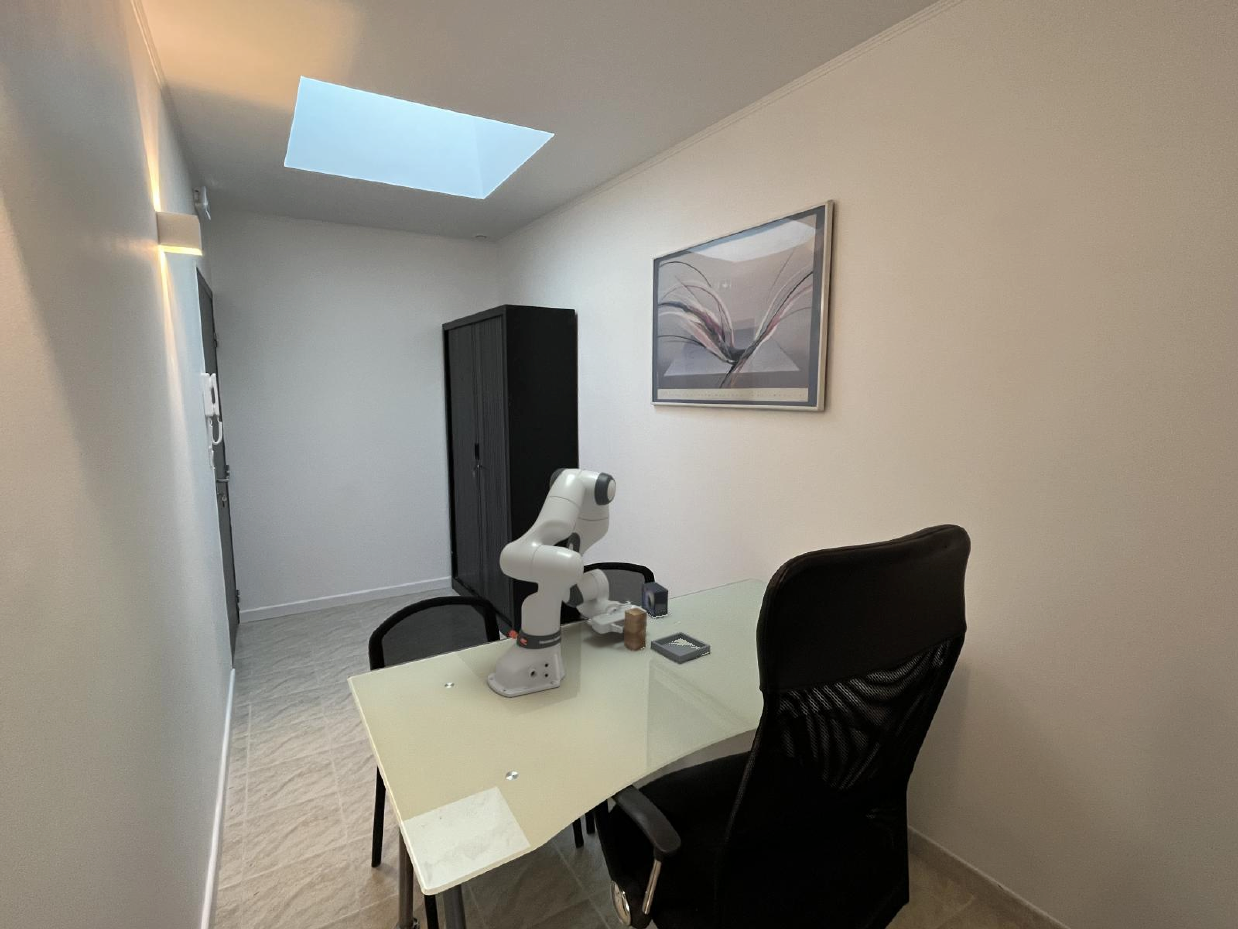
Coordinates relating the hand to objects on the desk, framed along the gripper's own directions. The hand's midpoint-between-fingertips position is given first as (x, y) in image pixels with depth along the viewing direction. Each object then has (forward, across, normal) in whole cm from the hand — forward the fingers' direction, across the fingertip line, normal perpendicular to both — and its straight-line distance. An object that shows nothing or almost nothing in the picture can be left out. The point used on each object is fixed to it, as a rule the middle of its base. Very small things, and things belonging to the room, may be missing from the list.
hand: (634, 627), depth 195 cm
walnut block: (0, 0, +6) cm, 7 cm away
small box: (-19, +25, +7) cm, 32 cm away
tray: (+11, +10, +6) cm, 16 cm away
